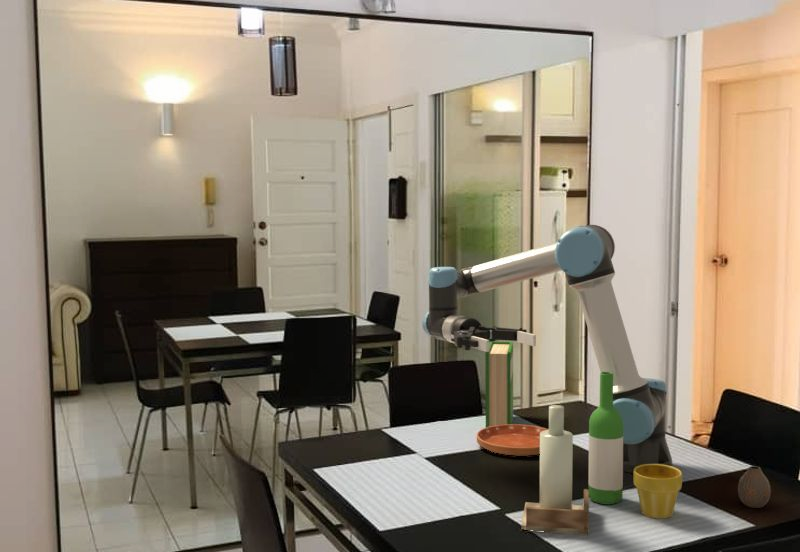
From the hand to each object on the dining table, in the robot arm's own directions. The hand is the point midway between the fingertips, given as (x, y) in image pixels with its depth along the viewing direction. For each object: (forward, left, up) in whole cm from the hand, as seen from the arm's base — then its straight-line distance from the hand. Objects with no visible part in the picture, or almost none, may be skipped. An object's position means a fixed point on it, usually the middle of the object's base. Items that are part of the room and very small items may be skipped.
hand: (511, 343), depth 209 cm
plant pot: (-33, +9, -36) cm, 50 cm away
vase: (-55, 0, -36) cm, 66 cm away
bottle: (-11, +17, -35) cm, 40 cm away
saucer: (+1, -37, -36) cm, 52 cm away
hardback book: (+8, -61, -36) cm, 71 cm away
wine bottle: (-22, +2, -36) cm, 42 cm away
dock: (-11, +17, -36) cm, 41 cm away
